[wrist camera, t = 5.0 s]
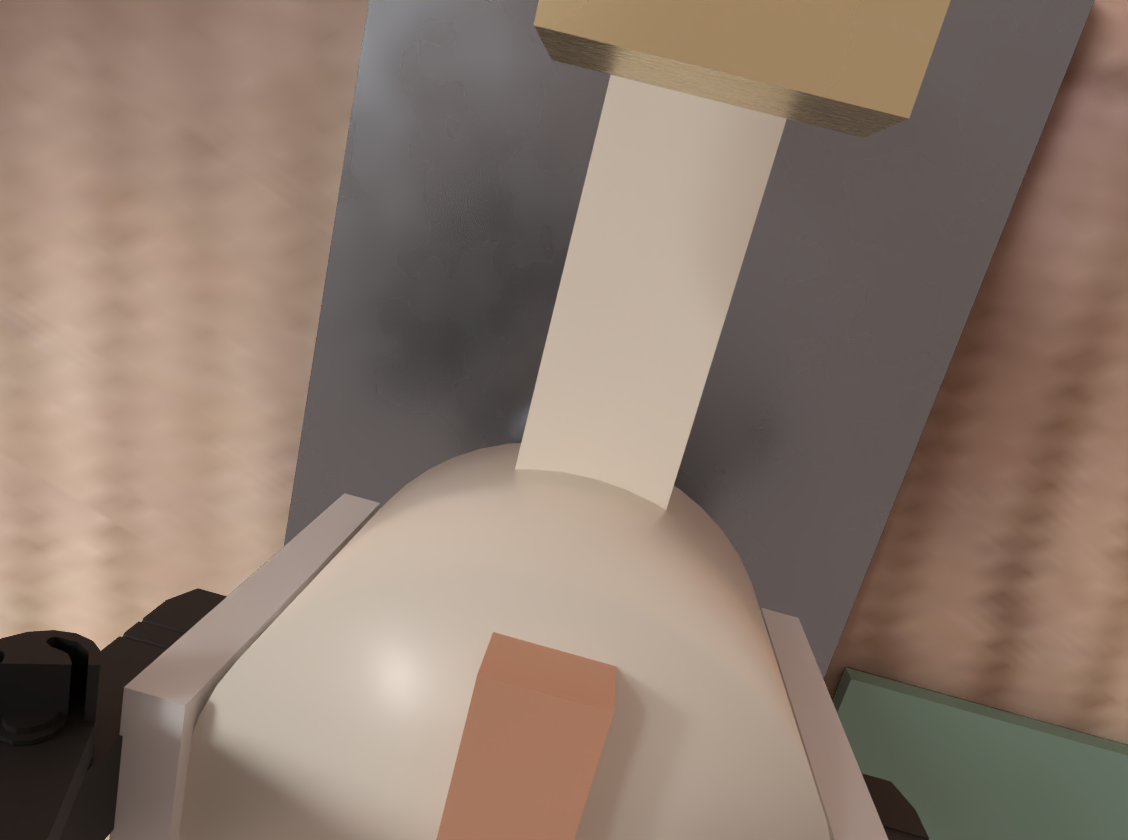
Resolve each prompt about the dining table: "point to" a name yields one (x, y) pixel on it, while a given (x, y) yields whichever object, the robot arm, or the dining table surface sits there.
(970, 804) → the mat
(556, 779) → the cream crossbar with hub
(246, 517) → the dining table surface
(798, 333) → the grey frame
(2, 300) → the dining table surface
